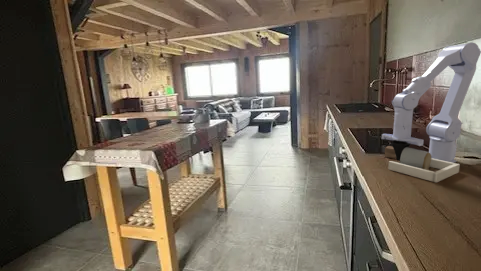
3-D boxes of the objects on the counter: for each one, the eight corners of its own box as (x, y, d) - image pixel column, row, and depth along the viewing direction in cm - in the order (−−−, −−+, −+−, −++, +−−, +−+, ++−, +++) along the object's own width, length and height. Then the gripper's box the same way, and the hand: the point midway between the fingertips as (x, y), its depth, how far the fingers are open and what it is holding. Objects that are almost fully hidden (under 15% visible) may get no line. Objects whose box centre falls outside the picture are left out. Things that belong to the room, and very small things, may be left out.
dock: (411, 161, 105) (411, 154, 105) (458, 172, 92) (459, 164, 91) (388, 169, 98) (388, 161, 97) (436, 182, 85) (437, 173, 84)
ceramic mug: (424, 174, 91) (426, 153, 90) (398, 168, 97) (400, 148, 96) (433, 167, 98) (436, 147, 96) (409, 162, 104) (411, 143, 102)
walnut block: (387, 154, 115) (388, 145, 115) (397, 156, 113) (398, 147, 112) (384, 156, 113) (385, 147, 112) (394, 158, 110) (395, 149, 109)
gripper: (377, 124, 103) (375, 157, 106) (417, 129, 91) (413, 167, 93) (388, 122, 106) (386, 154, 109) (428, 127, 94) (424, 163, 97)
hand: (399, 160), depth 102 cm, fingers closed
